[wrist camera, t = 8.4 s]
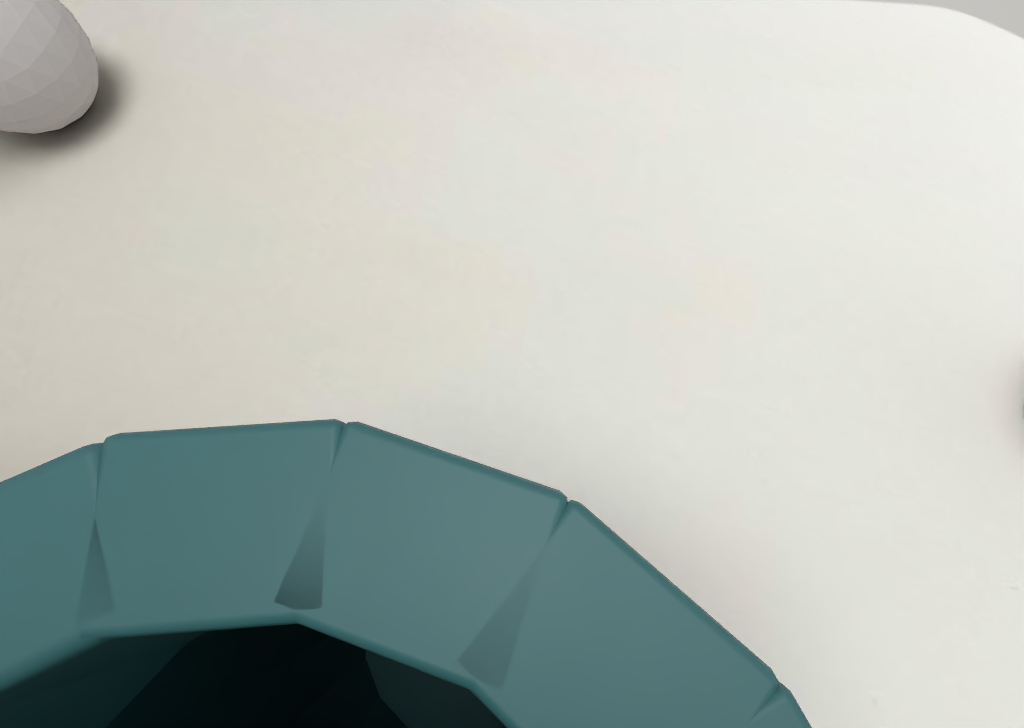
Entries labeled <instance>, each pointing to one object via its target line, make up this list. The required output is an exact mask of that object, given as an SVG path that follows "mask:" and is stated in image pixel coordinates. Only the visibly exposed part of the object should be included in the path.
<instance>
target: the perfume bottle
mask: <svg viewBox="0 0 1024 728" xmlns="http://www.w3.org/2000/svg"><path fill="white" fill-rule="evenodd" d="M97 90H98V63H97V60H96V57H95V54H94V51H93V48H92V46H91V43H90V40H89V38H88V36H87V35H86V33H85V32H84V30H83V29H82V27H81V26H80V25H79V23H78V22H77V20H76V19H75V17H74V16H73V14H72V13H71V12H70V11H69V10H68V9H67V8H66V7H65V6H64V5H63V4H62V3H61V2H60V1H59V0H0V130H3V131H8V132H20V133H33V134H37V133H42V132H47V131H52V130H58V129H61V128H63V127H65V126H66V125H68V124H70V123H72V122H73V121H75V120H77V119H78V118H80V117H82V116H83V115H84V113H85V112H86V111H87V110H88V109H89V107H90V106H91V104H92V102H93V101H94V99H95V96H96V93H97Z"/></svg>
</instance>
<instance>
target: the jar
mask: <svg viewBox="0 0 1024 728" xmlns="http://www.w3.org/2000/svg"><path fill="white" fill-rule="evenodd" d="M0 728H812V727H811V726H810V724H809V722H808V720H807V719H806V717H805V715H804V714H803V712H802V710H801V708H800V707H799V705H798V703H797V702H796V700H795V698H794V696H793V695H792V693H791V691H790V690H789V689H787V688H786V687H785V686H784V685H783V684H781V683H780V682H779V681H778V680H777V678H776V676H775V675H774V673H773V671H772V669H771V668H770V667H769V666H767V665H766V664H765V663H764V662H763V661H762V660H760V659H759V658H758V657H757V656H756V655H755V654H754V653H752V652H751V651H750V650H749V649H748V648H747V647H746V646H744V645H743V644H742V643H741V642H740V641H739V640H737V639H736V638H735V637H734V636H733V635H732V634H731V633H729V632H728V631H727V630H726V629H725V628H724V627H723V626H721V625H720V624H719V623H718V622H717V621H716V620H714V619H713V618H712V617H711V616H710V615H709V614H708V613H706V612H705V611H704V610H703V609H702V608H701V607H700V606H698V605H697V604H696V603H695V602H694V601H693V600H691V599H690V598H689V597H688V596H687V595H686V594H685V593H683V592H682V591H681V590H680V589H679V588H678V587H677V586H675V585H674V584H673V583H672V582H671V581H670V580H668V579H667V578H666V577H665V576H664V575H663V574H662V573H660V572H659V571H658V570H657V569H656V568H655V567H654V566H652V565H651V564H650V563H649V562H648V561H647V560H645V559H644V558H643V557H642V556H641V555H640V554H639V553H637V552H636V551H635V550H634V549H633V548H632V547H631V546H629V545H628V544H627V543H626V542H625V541H624V540H622V539H621V538H620V537H619V536H618V535H617V534H616V533H614V532H613V531H612V530H611V529H610V528H609V527H608V526H606V525H605V524H604V523H603V522H602V521H601V520H600V519H598V518H597V517H596V516H595V515H594V514H593V513H591V512H590V511H589V510H588V509H587V508H586V507H585V506H583V505H582V504H581V503H579V502H576V501H573V500H571V501H569V502H567V497H566V496H565V495H564V494H563V493H562V492H561V491H559V490H556V489H553V488H550V487H547V486H544V485H541V484H538V483H536V482H533V481H530V480H527V479H524V478H521V477H518V476H515V475H512V474H509V473H506V472H503V471H500V470H498V469H495V468H492V467H489V466H486V465H483V464H480V463H477V462H474V461H471V460H468V459H465V458H462V457H460V456H457V455H454V454H451V453H448V452H445V451H442V450H439V449H436V448H433V447H430V446H427V445H424V444H421V443H419V442H416V441H413V440H410V439H407V438H404V437H401V436H398V435H395V434H392V433H389V432H386V431H383V430H381V429H378V428H375V427H372V426H369V425H366V424H363V423H360V422H349V423H347V424H346V423H344V422H342V421H339V420H336V419H329V420H314V421H299V422H283V423H268V424H253V425H238V426H222V427H207V428H192V429H176V430H161V431H146V432H131V433H119V434H116V435H112V436H110V437H107V438H106V440H105V441H104V443H97V444H91V445H87V446H84V447H81V448H79V449H77V450H74V451H72V452H70V453H67V454H65V455H63V456H61V457H58V458H56V459H54V460H51V461H49V462H47V463H44V464H42V465H40V466H37V467H35V468H33V469H31V470H28V471H26V472H24V473H21V474H19V475H17V476H14V477H12V478H10V479H7V480H5V481H3V482H0Z"/></svg>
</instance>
